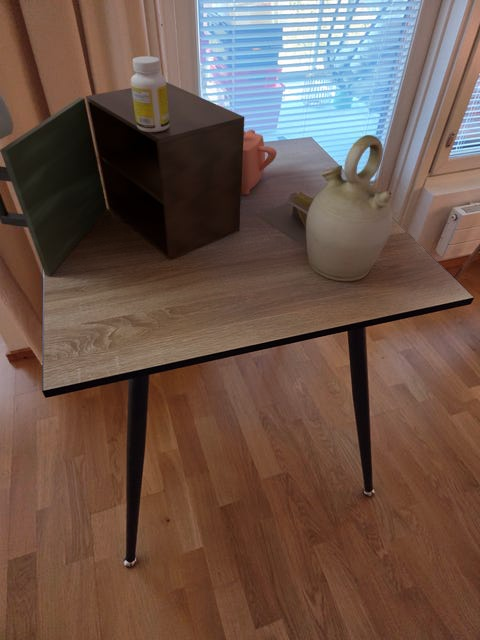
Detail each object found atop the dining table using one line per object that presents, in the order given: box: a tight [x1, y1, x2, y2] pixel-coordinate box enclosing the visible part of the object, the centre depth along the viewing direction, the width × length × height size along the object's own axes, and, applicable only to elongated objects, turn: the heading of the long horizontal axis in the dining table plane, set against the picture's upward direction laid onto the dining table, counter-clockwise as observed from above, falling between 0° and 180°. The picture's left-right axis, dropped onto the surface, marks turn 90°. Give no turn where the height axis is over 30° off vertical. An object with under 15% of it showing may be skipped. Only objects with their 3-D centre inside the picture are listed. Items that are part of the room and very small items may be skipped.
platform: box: [256, 190, 315, 251], centre depth 92 cm, size 12×18×7 cm, turn 37°
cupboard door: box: [0, 97, 108, 277], centre depth 78 cm, size 8×26×23 cm, turn 169°
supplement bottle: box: [130, 55, 169, 132], centre depth 66 cm, size 5×5×10 cm
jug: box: [306, 134, 393, 282], centre depth 75 cm, size 15×16×25 cm
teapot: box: [241, 129, 277, 196], centre depth 102 cm, size 17×16×13 cm
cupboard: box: [85, 81, 245, 261], centre depth 85 cm, size 18×26×24 cm
